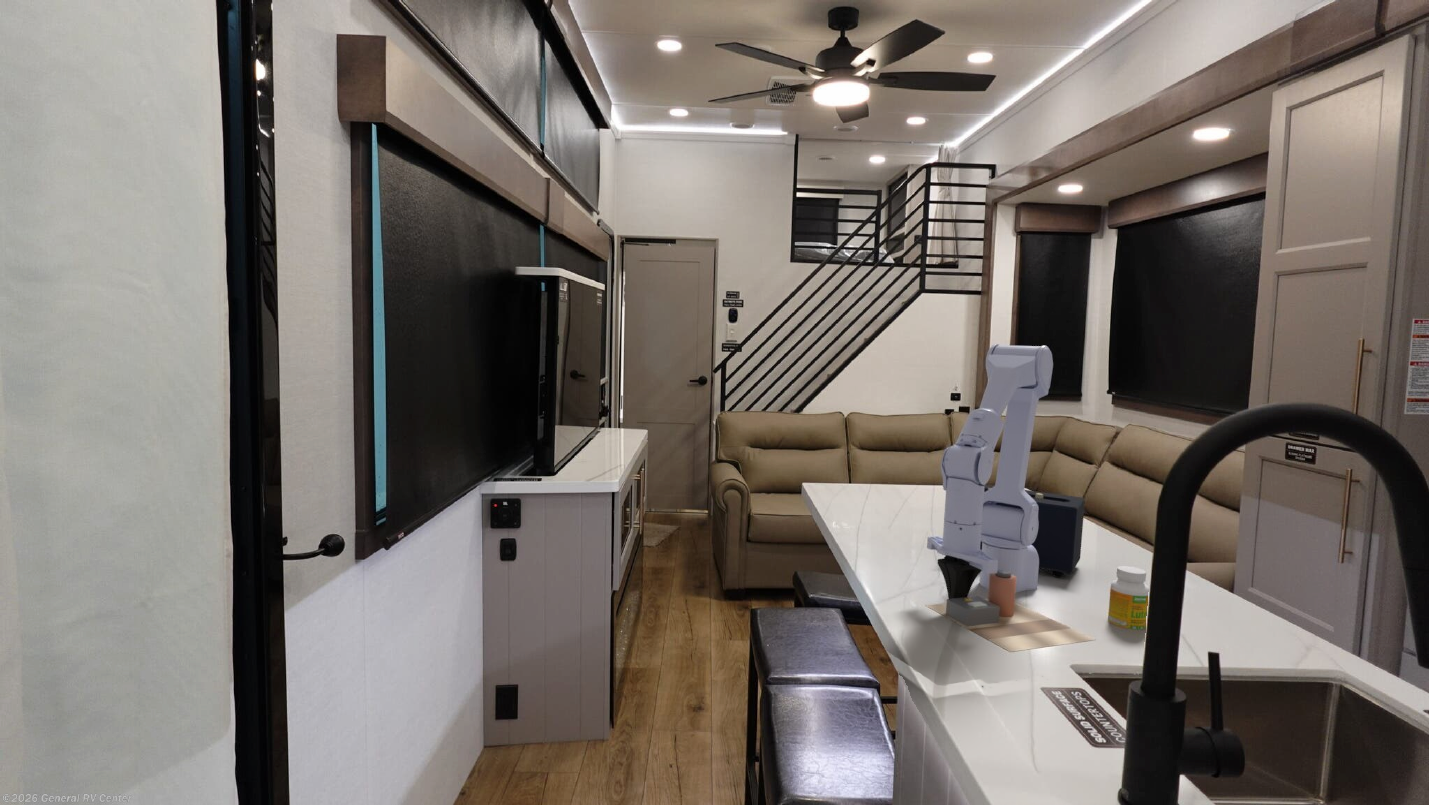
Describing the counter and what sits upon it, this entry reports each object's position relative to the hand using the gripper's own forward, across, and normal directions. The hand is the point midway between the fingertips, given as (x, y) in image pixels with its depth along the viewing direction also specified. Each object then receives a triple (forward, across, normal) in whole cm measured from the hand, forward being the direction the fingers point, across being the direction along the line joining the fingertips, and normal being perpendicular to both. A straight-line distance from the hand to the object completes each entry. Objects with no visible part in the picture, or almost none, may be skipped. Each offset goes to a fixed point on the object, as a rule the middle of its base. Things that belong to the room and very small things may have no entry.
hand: (957, 604), depth 120 cm
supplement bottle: (+2, +12, +24) cm, 26 cm away
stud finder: (+1, +4, 0) cm, 4 cm away
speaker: (+2, -23, +33) cm, 40 cm away
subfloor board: (+2, +6, +5) cm, 8 cm away
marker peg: (+1, +2, +6) cm, 7 cm away
